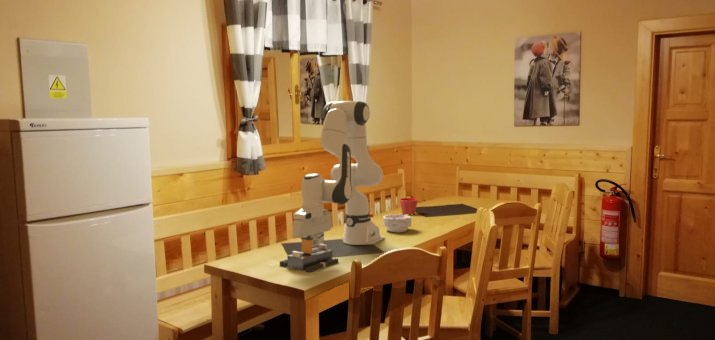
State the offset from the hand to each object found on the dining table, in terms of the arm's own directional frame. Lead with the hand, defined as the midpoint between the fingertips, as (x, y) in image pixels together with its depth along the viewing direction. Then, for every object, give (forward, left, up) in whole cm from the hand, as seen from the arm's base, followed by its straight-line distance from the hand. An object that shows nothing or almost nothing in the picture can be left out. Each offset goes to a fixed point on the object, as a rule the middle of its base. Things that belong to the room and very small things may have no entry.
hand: (313, 244), depth 232 cm
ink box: (-17, -15, -8) cm, 24 cm away
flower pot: (-117, -29, -8) cm, 121 cm away
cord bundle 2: (+2, +7, -8) cm, 11 cm away
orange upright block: (+4, 0, -3) cm, 5 cm away
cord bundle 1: (+2, -8, -8) cm, 11 cm away
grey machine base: (+2, 0, -8) cm, 8 cm away
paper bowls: (-74, -8, -9) cm, 75 cm away
